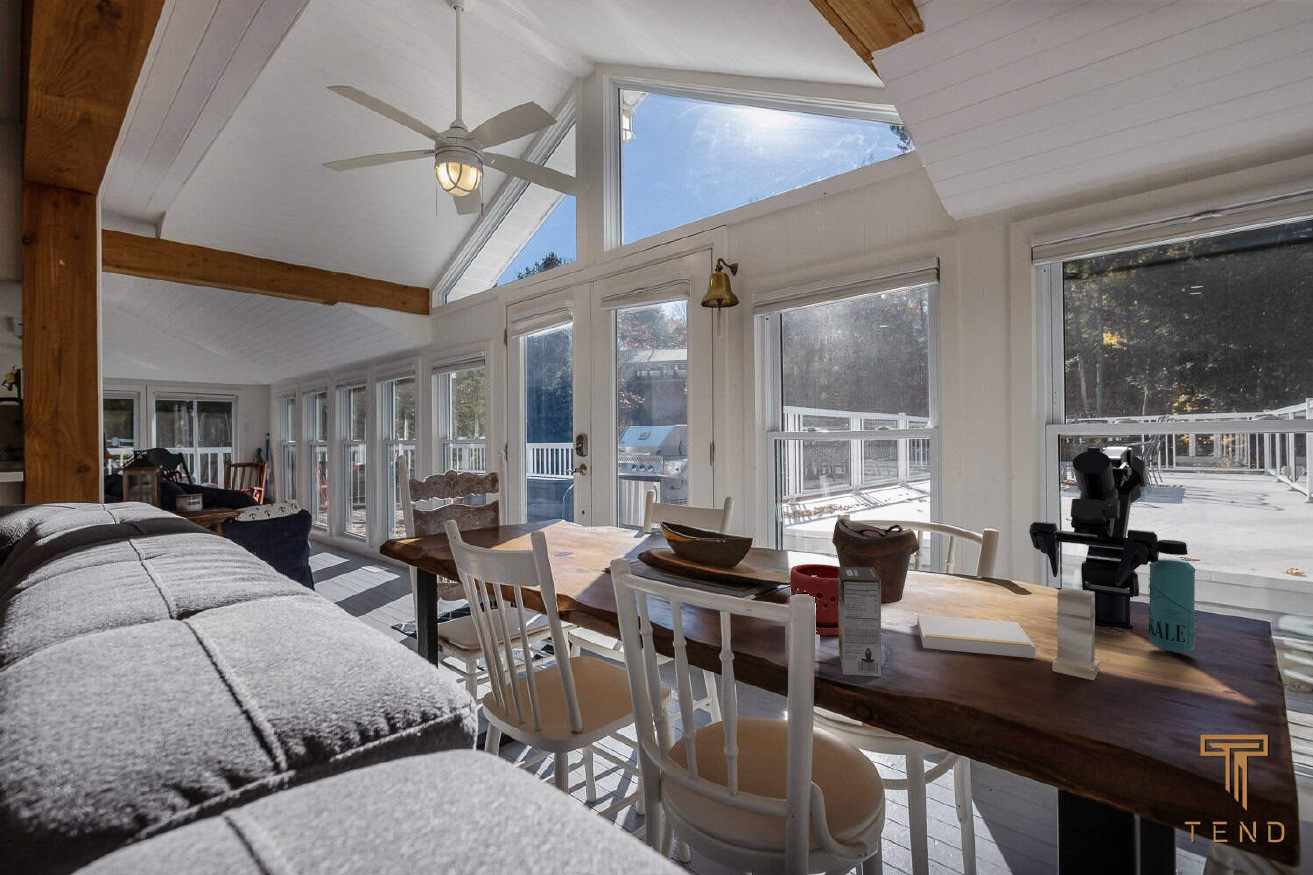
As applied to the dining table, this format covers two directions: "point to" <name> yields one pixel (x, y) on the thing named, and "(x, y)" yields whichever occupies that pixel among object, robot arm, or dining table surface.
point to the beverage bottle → (1172, 599)
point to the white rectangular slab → (974, 636)
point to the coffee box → (859, 621)
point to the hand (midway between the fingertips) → (1085, 579)
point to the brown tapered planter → (877, 553)
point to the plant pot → (819, 593)
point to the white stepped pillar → (1076, 634)
